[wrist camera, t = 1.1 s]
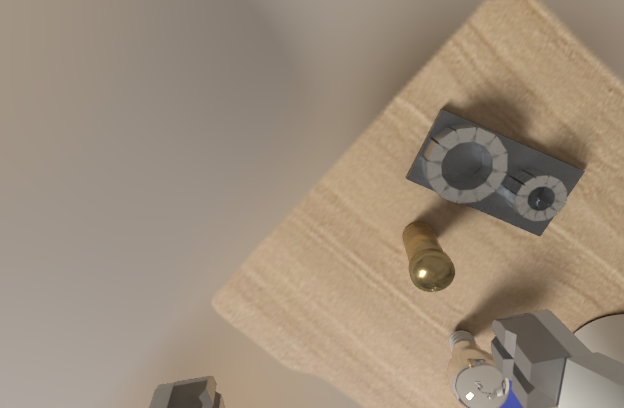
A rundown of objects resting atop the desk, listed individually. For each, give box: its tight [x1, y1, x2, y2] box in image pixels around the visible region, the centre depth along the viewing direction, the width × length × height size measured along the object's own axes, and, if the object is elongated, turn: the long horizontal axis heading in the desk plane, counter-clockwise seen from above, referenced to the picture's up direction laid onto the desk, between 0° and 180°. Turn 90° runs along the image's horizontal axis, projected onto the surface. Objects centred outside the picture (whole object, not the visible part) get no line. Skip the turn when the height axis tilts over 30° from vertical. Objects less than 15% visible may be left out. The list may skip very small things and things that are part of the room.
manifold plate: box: [406, 109, 585, 236], centre depth 43 cm, size 18×9×4 cm, turn 68°
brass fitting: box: [402, 222, 455, 292], centre depth 44 cm, size 5×5×10 cm
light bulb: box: [446, 330, 510, 408], centre depth 47 cm, size 7×7×12 cm
